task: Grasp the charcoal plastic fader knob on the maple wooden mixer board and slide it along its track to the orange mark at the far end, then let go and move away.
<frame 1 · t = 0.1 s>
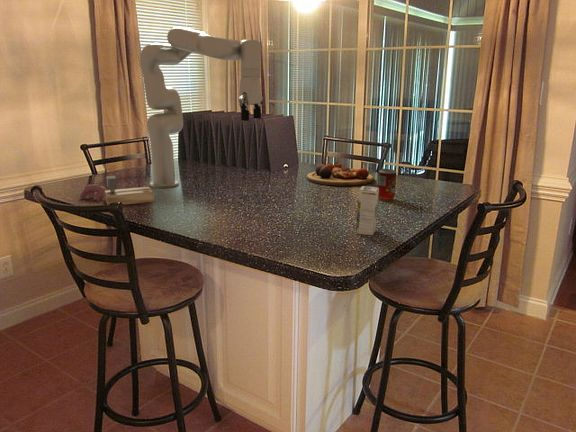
hand: (251, 119, 189), 31 cm above the countertop, tool pointing down, fingers open, 9 cm apart
pink domed lump: (94, 199, 192), on the countertop
wooden plate with food: (339, 180, 232), on the countertop
soda can: (385, 200, 195), on the countertop
fader board: (129, 200, 189), on the countertop
syrup box: (365, 232, 155), on the countertop
fader knob: (111, 184, 184), point 7 cm above the countertop, slide at 0.0 cm
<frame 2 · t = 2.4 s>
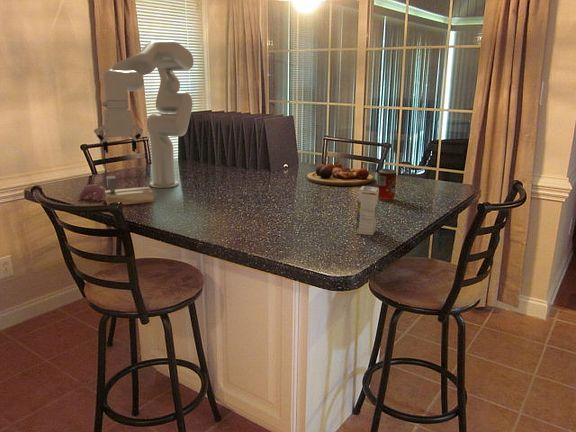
hand: (120, 151, 181), 20 cm above the countertop, tool pointing down, fingers open, 9 cm apart
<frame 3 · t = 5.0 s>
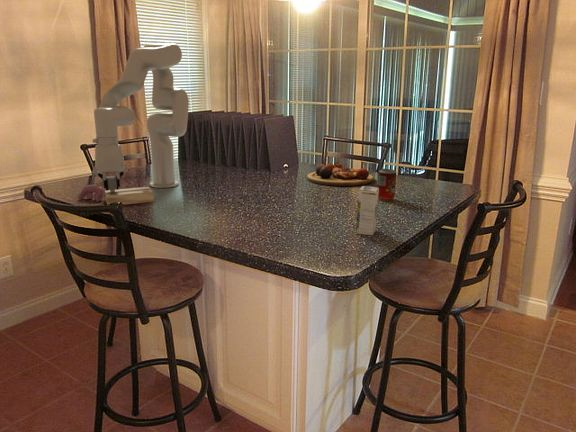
hand: (112, 188, 185), 5 cm above the countertop, tool pointing down, fingers closed on fader knob, 3 cm apart
fader knob: (111, 184, 184), point 7 cm above the countertop, slide at 0.0 cm, touching gripper
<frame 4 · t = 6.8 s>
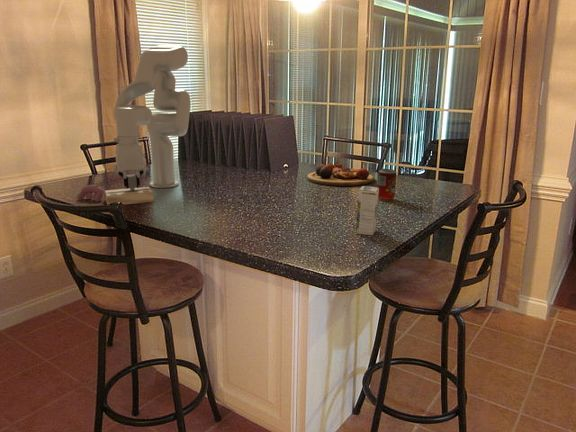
hand: (132, 187, 188), 5 cm above the countertop, tool pointing down, fingers closed on fader knob, 3 cm apart
fader knob: (131, 182, 187), point 7 cm above the countertop, slide at 7.4 cm, touching gripper
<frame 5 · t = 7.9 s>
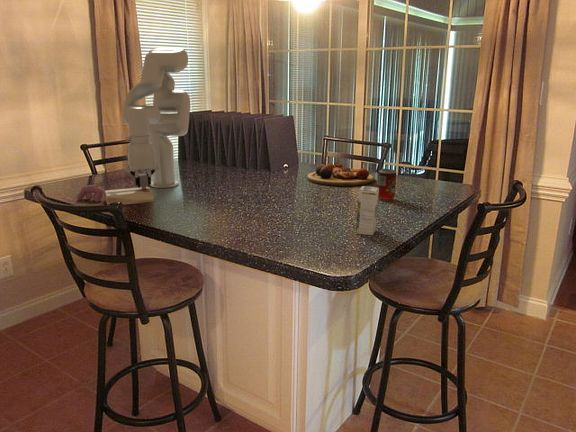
hand: (143, 186, 190), 5 cm above the countertop, tool pointing down, fingers closed on fader knob, 3 cm apart
fader knob: (143, 181, 189), point 7 cm above the countertop, slide at 11.7 cm, touching gripper
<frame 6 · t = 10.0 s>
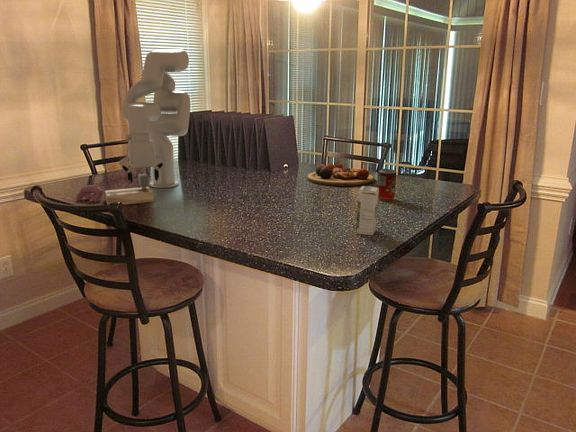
hand: (143, 180, 190), 7 cm above the countertop, tool pointing down, fingers open, 9 cm apart
fader knob: (143, 181, 189), point 7 cm above the countertop, slide at 11.8 cm
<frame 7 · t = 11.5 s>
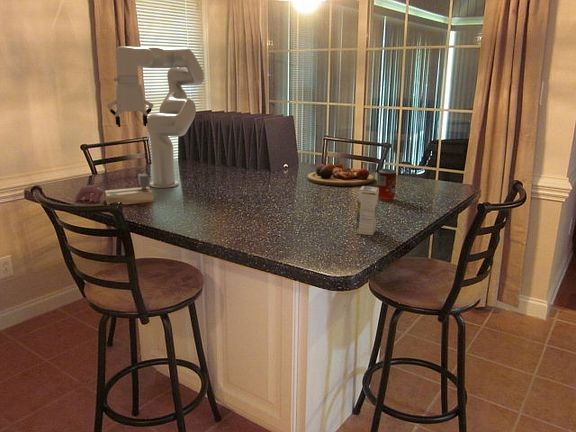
hand: (132, 126, 188), 28 cm above the countertop, tool pointing down, fingers open, 9 cm apart
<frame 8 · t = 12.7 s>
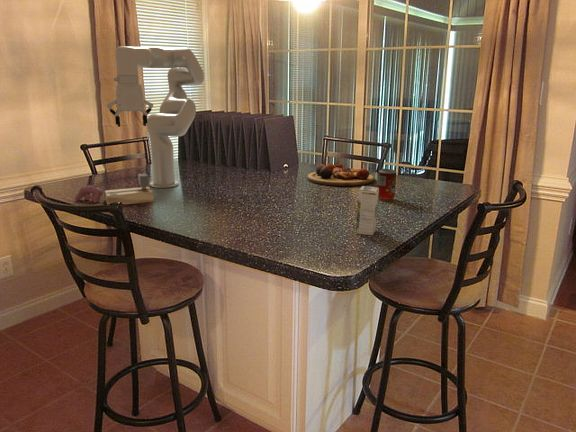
hand: (131, 126, 188), 28 cm above the countertop, tool pointing down, fingers open, 9 cm apart
at the end: fader knob slide at 11.8 cm; the gripper is holding nothing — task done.
